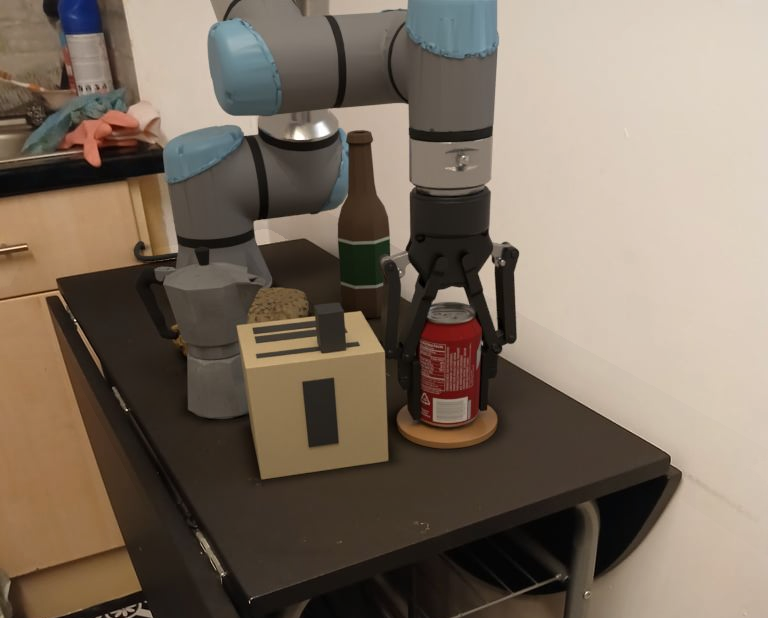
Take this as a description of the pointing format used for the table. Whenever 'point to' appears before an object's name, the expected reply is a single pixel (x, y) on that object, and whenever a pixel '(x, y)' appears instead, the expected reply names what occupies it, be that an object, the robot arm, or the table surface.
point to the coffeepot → (206, 328)
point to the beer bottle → (362, 232)
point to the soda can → (450, 365)
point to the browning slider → (330, 327)
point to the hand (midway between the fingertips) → (447, 409)
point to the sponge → (267, 309)
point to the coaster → (447, 430)
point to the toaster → (314, 396)
